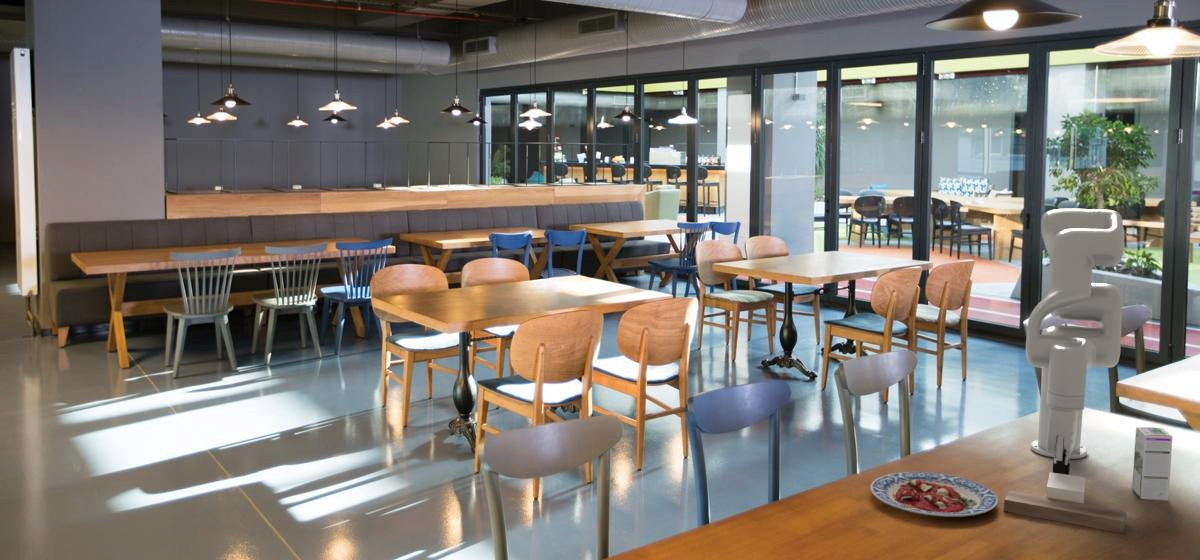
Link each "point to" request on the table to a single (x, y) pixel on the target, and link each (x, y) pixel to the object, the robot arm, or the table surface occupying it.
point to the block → (1066, 487)
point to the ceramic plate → (934, 494)
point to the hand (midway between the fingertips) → (1060, 480)
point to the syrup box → (1152, 463)
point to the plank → (1066, 511)
